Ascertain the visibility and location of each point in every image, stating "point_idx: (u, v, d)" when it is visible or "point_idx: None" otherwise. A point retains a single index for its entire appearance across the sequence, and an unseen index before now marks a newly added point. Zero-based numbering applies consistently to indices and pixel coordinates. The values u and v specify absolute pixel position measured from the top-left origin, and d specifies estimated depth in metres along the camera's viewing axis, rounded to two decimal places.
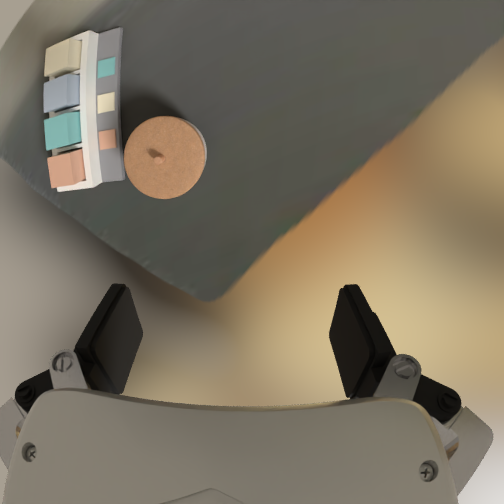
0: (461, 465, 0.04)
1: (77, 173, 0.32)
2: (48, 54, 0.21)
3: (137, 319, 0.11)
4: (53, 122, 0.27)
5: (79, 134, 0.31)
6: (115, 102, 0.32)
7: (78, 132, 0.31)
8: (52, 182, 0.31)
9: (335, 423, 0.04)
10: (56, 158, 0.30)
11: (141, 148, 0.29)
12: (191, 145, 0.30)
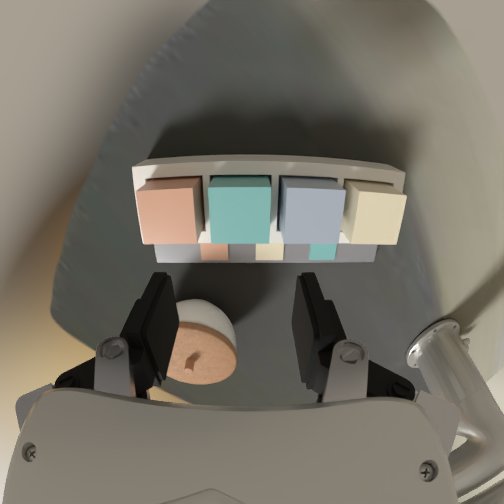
0: None
1: None
2: (393, 201, 0.21)
3: (175, 307, 0.12)
4: (259, 213, 0.21)
5: None
6: (266, 260, 0.30)
7: None
8: (146, 193, 0.20)
9: (335, 423, 0.04)
10: (188, 211, 0.21)
11: (200, 347, 0.27)
12: (205, 380, 0.31)
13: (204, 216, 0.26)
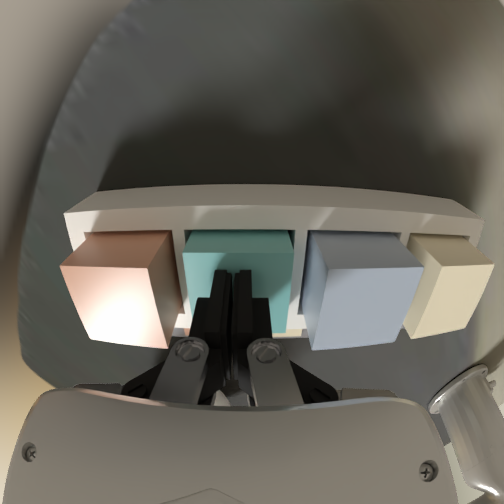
0: None
1: None
2: (478, 275, 0.11)
3: (232, 305, 0.12)
4: (271, 292, 0.13)
5: None
6: (277, 335, 0.20)
7: None
8: (75, 271, 0.10)
9: (335, 423, 0.04)
10: (146, 304, 0.11)
11: None
12: None
13: None
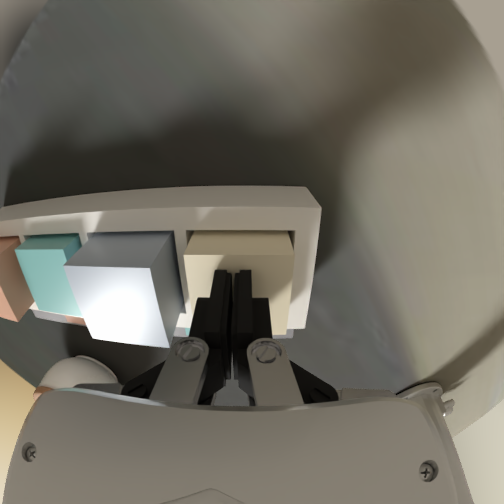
0: None
1: None
2: (262, 268, 0.12)
3: (232, 305, 0.12)
4: (63, 281, 0.13)
5: None
6: None
7: None
8: None
9: (335, 423, 0.04)
10: None
11: None
12: None
13: None
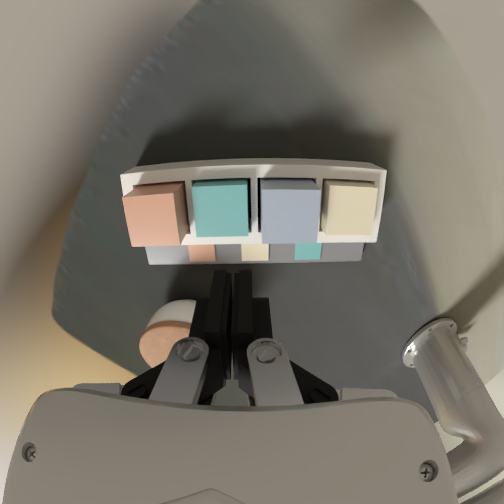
0: None
1: None
2: (364, 194, 0.23)
3: (232, 305, 0.12)
4: (237, 208, 0.24)
5: None
6: (252, 260, 0.31)
7: None
8: (131, 199, 0.21)
9: (335, 423, 0.04)
10: (170, 215, 0.22)
11: None
12: None
13: None
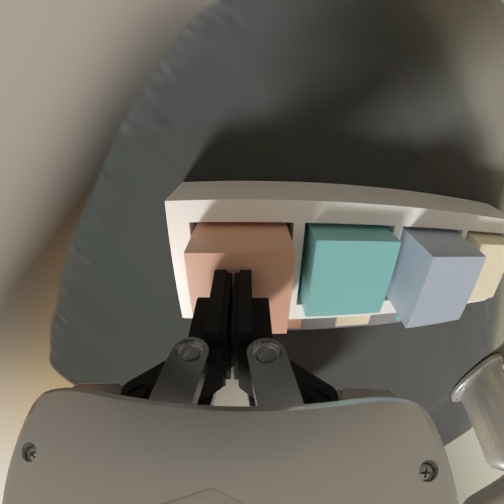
0: None
1: None
2: (502, 253, 0.13)
3: (232, 305, 0.12)
4: (378, 276, 0.14)
5: None
6: (347, 324, 0.21)
7: None
8: (205, 258, 0.12)
9: (335, 423, 0.04)
10: (282, 289, 0.12)
11: None
12: None
13: None
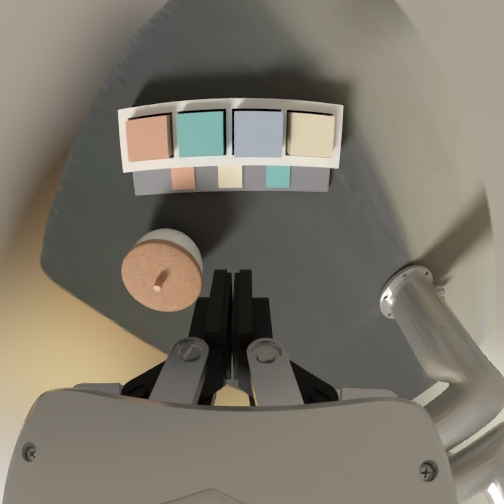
0: None
1: None
2: (322, 121, 0.26)
3: (232, 305, 0.12)
4: (214, 130, 0.26)
5: None
6: (228, 188, 0.34)
7: None
8: (132, 122, 0.25)
9: (335, 423, 0.04)
10: (162, 132, 0.26)
11: (168, 263, 0.31)
12: (175, 305, 0.34)
13: None
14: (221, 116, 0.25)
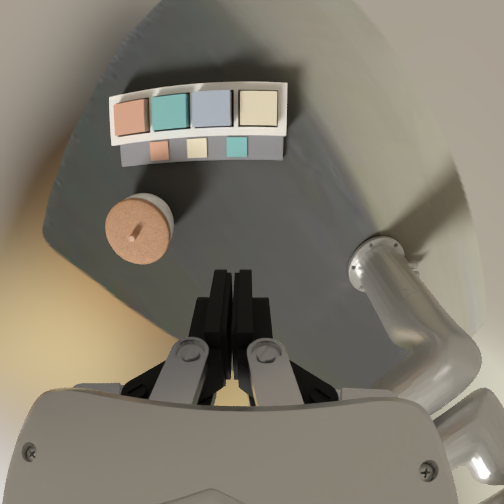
0: None
1: None
2: (266, 95, 0.31)
3: (232, 305, 0.12)
4: (179, 108, 0.31)
5: None
6: (195, 158, 0.39)
7: None
8: (119, 105, 0.30)
9: (335, 423, 0.04)
10: (140, 112, 0.31)
11: (141, 217, 0.36)
12: (147, 257, 0.39)
13: None
14: (184, 97, 0.31)
